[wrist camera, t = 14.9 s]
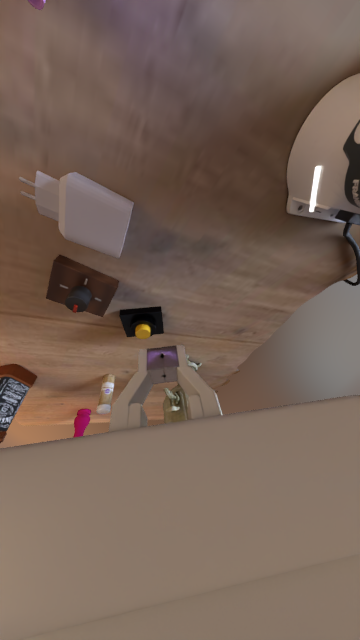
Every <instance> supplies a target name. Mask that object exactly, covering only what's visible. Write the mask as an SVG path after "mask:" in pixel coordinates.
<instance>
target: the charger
mask: <svg viewBox="0 0 360 640" xmlns="http://www.w3.org/2000/svg"><path fill="white" fill-rule="evenodd" d="M19 180H20V181H21V182H23V183H26V184H28V185H30V186H32V187H35V196H33V195H31V194H28V193H26V192H24V191H21V192H20V193H21V194H22V195H24V196H26V197H28V198H31V199H33V200H35V201H36V206H37V209H38V212H39V214H42V215H44V216H47V217H49V218H51V219H54V220H56V221H59V231H60V232H61V234H62V235H63V236H64V238H65V239H67V240H69V241H72V242H75V243H78V244H80V245H83V246H86V247H88V248H91V249H94V250H96V251H99V252H102V253H104V254H107V255H110V256H113V257H115V258H118V259H119V258H120V254H121V251H122V247H123V244H124V240H125V237H126V233H127V229H128V225H129V221H130V217H131V213H132V209H133V204H134V202H132V201H130V200H128V199H126V198H124V197H123V196H121V195H119V194H117V193H115V192H113V191H111V190H109V189H107V188H105V187H103V186H101V185H100V184H98V183H96V182H94V181H92V180H90V179H88V178H86V177H84V176H82V175H80V174H78V173H77V172H74V173H69V174H67V175H65V176H63V177H61V178H60V181H58V180H56V179H54V178H52V177H50V176H48V175H46V174H44V173H42V172H40V171H37V173H36V179H35V183H33V182H31V181H28V180H26V179H24V178H22V177H19Z"/></svg>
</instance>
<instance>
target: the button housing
mask: <svg viewBox="0 0 360 640" xmlns="http://www.w3.org/2000/svg"><path fill="white" fill-rule="evenodd" d="M119 316H120V319H121V321H122V324H123V327H124V330H125V333H126V335H127V337H134V336H135V337H136V335H135V331H136V327H137V326H138V325H140V324H146V325H148V326H149V327H150V336H152V335H153V334H163V333H164V331H163V321H162V312H161V307H150V308H138V309H127V310H120V315H119Z"/></svg>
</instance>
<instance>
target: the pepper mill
mask: <svg viewBox="0 0 360 640" xmlns="http://www.w3.org/2000/svg"><path fill="white" fill-rule="evenodd" d="M90 413H91V410H89V409H81V410H79V411H78V413H77V415H78V416H77V417H76V418H75V420H74V427H75V434H74V437H80V436H83V433H84V430H85V428H86V426H87V425H88V424H89V422H90V417H89V415H90Z"/></svg>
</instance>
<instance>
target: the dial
mask: <svg viewBox="0 0 360 640" xmlns="http://www.w3.org/2000/svg"><path fill="white" fill-rule="evenodd" d="M91 297H92V294H91V292H90V290H89V289H87V288H86V287H83V286H75V287H73V288H72V289H71V291H70V293H69V295H68V296H67V298H66V300H65V305H66V306H67V308H69V309H70V310H72V311H73V312H75V313H76V312H83V311H85V310H86V309H87V307H88V304H89V302H90V300H91Z"/></svg>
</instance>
